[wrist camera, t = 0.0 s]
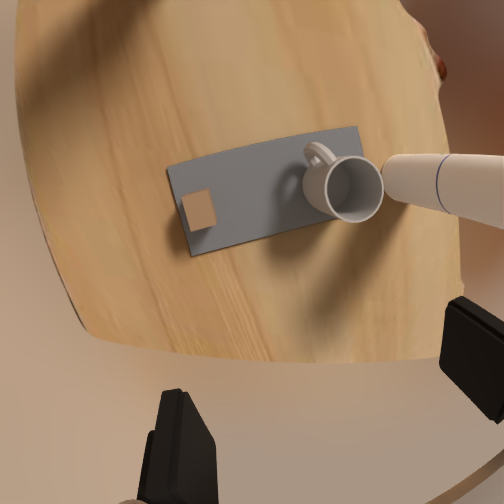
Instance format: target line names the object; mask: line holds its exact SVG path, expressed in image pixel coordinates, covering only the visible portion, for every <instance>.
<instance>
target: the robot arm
mask: <svg viewBox="0 0 504 504" xmlns="http://www.w3.org/2000/svg"><path fill="white" fill-rule="evenodd" d="M439 366H440V368H441V370H442V371H443V372H444V373H445V374H446V375H447V376H448V377H449V378H450V379H451V380H452V381H453V382H454V383H455V384H456V385H457V386H458V387H459V388H460V389H461V390H462V391H463V392H464V394H465V395H466V396H468V398H470V400H471V401H472V402H473V403H474V404H475V405H476V406H477V407H478V408H479V409H480V410H481V411H482V412H483V413H484V414H485V416H486V417H487V418H488V419H489V420H494V421H495V423H496V424H499V423H500V422H501V421H502V420H504V322H503V321H502V320H500V319H499V318H497V317H496V316H494V315H492V314H491V313H489V312H488V311H486V310H485V309H483V308H482V307H480V306H478V305H477V304H475V303H473V302H472V301H470V300H469V299H467V298H465V297H464V296H459V297H457V298H455V299H453V300H451V301H450V302H449V303H448V306H447V308H446V310H445V320H444V330H443V338H442V346H441V353H440V360H439ZM120 504H219V501H218V484H217V461H216V445H215V441H214V439H213V437H212V435H211V434H210V432H209V430H208V429H207V427H206V425H205V424H204V421H203V420H202V418H201V416H200V414H199V412H198V411H197V409H196V407H195V405H194V403H193V401H192V399H191V397H190V395H189V394H188V392H182V390H181V389H179V388H178V389H173V390H166V391H163V392H162V395H161V400H160V405H159V410H158V415H157V421H156V426H155V430H152V431H150V432H149V434H148V437H147V442H146V447H145V453H144V459H143V464H142V470H141V476H140V481H139V488H138V494H137V500H126V501H124V502H121V503H120ZM426 504H504V449H503V450H502V451H501V452H500V453H499V454H497V455H496V456H495V457H494V458H493V459H491V460H490V461H489V462H488V463H487V464H485V465H484V466H482V467H481V468H480V469H478V470H477V471H476V472H474V473H473V474H472V475H470V476H469V477H467V478H466V479H465V480H463V481H461V482H460V483H458V484H457V485H455V486H454V487H452V488H451V489H449V490H448V491H446V492H444V493H443V494H441V495H439V496H438V497H436V498H435V499H433V500H431V501H429V502H427V503H426Z"/></svg>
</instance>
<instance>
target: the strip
mask: <svg viewBox="0 0 504 504" xmlns="http://www.w3.org/2000/svg"><path fill="white" fill-rule="evenodd" d="M312 142H318V143H321V144H322V145H324V146H325V147H327V148H328V149H329V150H330V151H331V152H332V153H333V154H334V155H335V157H341V156H361V157H363V158H364V155H363V150H362V145H361V141H360V136H359V132H358V128H357V126H353V127H346V128H339V129H332V130H325V131H319V132H313V133H307V134H302V135H296V136H291V137H286V138H281V139H276V140H271V141H266V142H261V143H257V144H252V145H248V146H244V147H240V148H235V149H231V150H227V151H223V152H219V153H215V154H212V155H208V156H204V157H201V158H197V159H193V160H190V161H186V162H183V163H180V164H176V165H173V166H170V167H167V170H168V173H169V177H170V181H171V185H172V188H173V192H174V196H175V199H176V203H177V207H178V210H179V214H180V217H181V221H182V224H183V227H184V231H185V234H186V238H187V241H188V244H189V248H190V251H191V254H192V256H194V255H198V254H201V253H205V252H209V251H213V250H216V249H220V248H224V247H228V246H231V245H235V244H239V243H243V242H246V241H250V240H254V239H258V238H262V237H265V236H269V235H273V234H277V233H281V232H285V231H288V230H292V229H296V228H300V227H304V226H308V225H312V224H316V223H320V222H323V221H327V220H331V219H335V218H336V217H334V216H331V215H329V214H327V213H324V212H322V211H319V210H318V209H316V208H314V207H313V206H312V205H311V204H310V203H309V202H308V201H307V199H306V197H305V196H304V192H303V189H302V181H303V177H304V174H305V172H306V170H307V168H308V167H309V166H310V165H309V164H308V162H307V160H306V158H305V156H304V153H303V150H304V148H305V146H306V145H307V144H308V143H312Z"/></svg>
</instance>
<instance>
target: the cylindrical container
mask: <svg viewBox="0 0 504 504" xmlns="http://www.w3.org/2000/svg"><path fill="white" fill-rule="evenodd" d="M381 176H382V179H383V184H384V190H385V192H386V194H387V195H388V196H389V197H390V198H391V199H393V200H395V201H400V202H404V203H408V204H412V205H417V206H421V207H425V208H429V209H433V210H437V211H441V212H445V213H449V214H453V215H456V216H460V217H463V218H467V219H471V220H474V221H478V222H481V223H484V224H488V225H491V226H494V227H497V228H501V229H504V156H493V155H471V154H470V155H469V154H399V155H393V156H391V157H390V158H389V159H388V160H387V161H386V162H385V164H384V166H383V169H382V173H381Z"/></svg>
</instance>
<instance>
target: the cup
mask: <svg viewBox="0 0 504 504" xmlns="http://www.w3.org/2000/svg"><path fill="white" fill-rule="evenodd" d="M303 153H304V156H305V158H306V160H307V162H308V164H309V165H310V166H309V167H308V168H307V170H306V172H305V174H304V177H303V181H302V189H303V192H304V196H305V197H306V199H307V201H308V202H309V203H310V204H311V205H312V206H313V207H314V208H316V209H318V210H319V211H322V212H324V213H327V214H329V215H331V216H334V217H336V218H338V219H341V220H343V221H346V222H350V223H359V222H362V221H365V220H367V219H369V218H370V217H372V216H373V215H374V214H375V213H376V212H377V210H378V209H379V207H380V205H381V203H382V200H383V196H384V184H383V179H382V176H381V174H380V172H379V170H378V169H377V167H376V166H375V165H374V164H373V163H372V162H371V161H369V160H368V159H366V158H363V157H361V156H341V157H335V155H334V154H333V153H332V152H331V151H330V150H329V149H328V148H327V147H325V146H324V145H322V144H321V143H318V142H312V143H308V144H307V145H306V146H305V148H304V150H303Z"/></svg>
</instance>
